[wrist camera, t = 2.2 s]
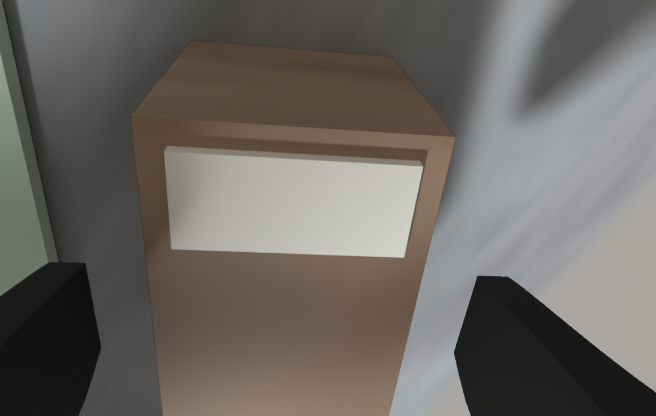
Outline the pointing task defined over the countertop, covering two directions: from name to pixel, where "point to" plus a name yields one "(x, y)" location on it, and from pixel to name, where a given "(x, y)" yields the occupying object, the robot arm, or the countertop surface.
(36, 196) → the sage mat
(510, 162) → the countertop surface
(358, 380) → the labeled brown box
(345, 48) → the countertop surface
